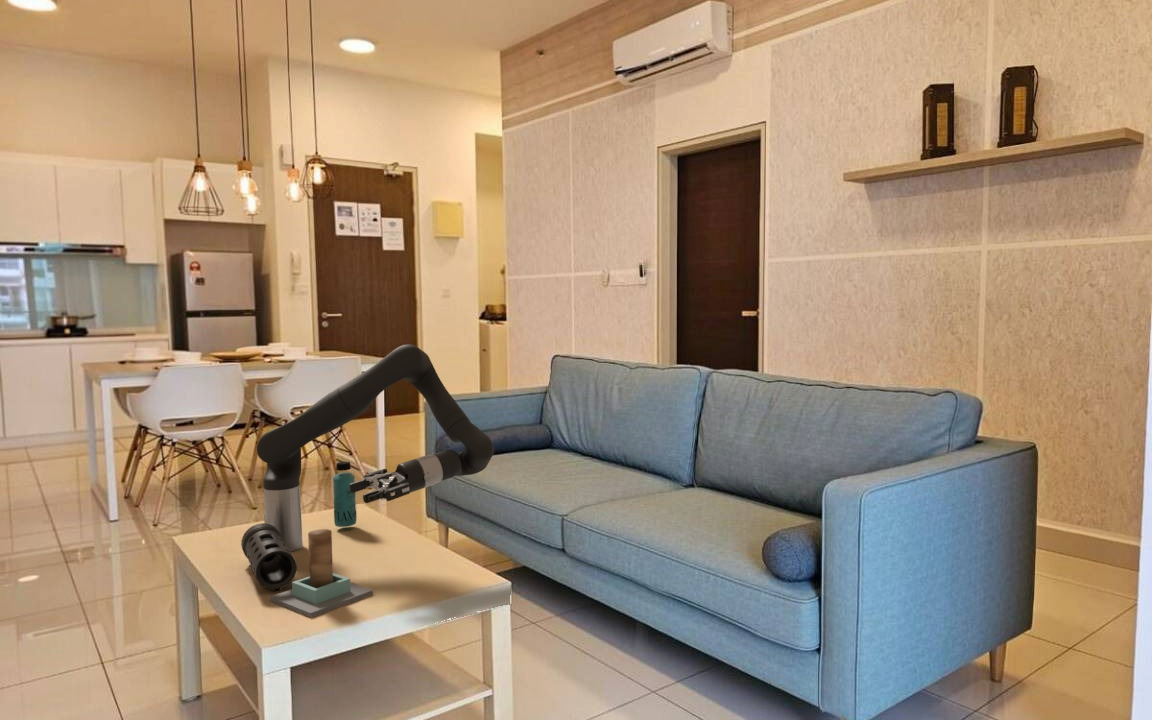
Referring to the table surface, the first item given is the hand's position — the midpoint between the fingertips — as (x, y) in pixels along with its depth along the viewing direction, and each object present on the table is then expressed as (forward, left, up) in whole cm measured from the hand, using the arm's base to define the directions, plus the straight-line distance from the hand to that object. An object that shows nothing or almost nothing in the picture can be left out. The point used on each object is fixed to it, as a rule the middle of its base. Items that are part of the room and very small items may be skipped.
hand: (356, 493), depth 181 cm
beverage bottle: (-43, +26, -22) cm, 54 cm away
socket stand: (-1, -10, -22) cm, 24 cm away
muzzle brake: (-25, -9, -22) cm, 34 cm away
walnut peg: (-1, -10, -21) cm, 23 cm away
